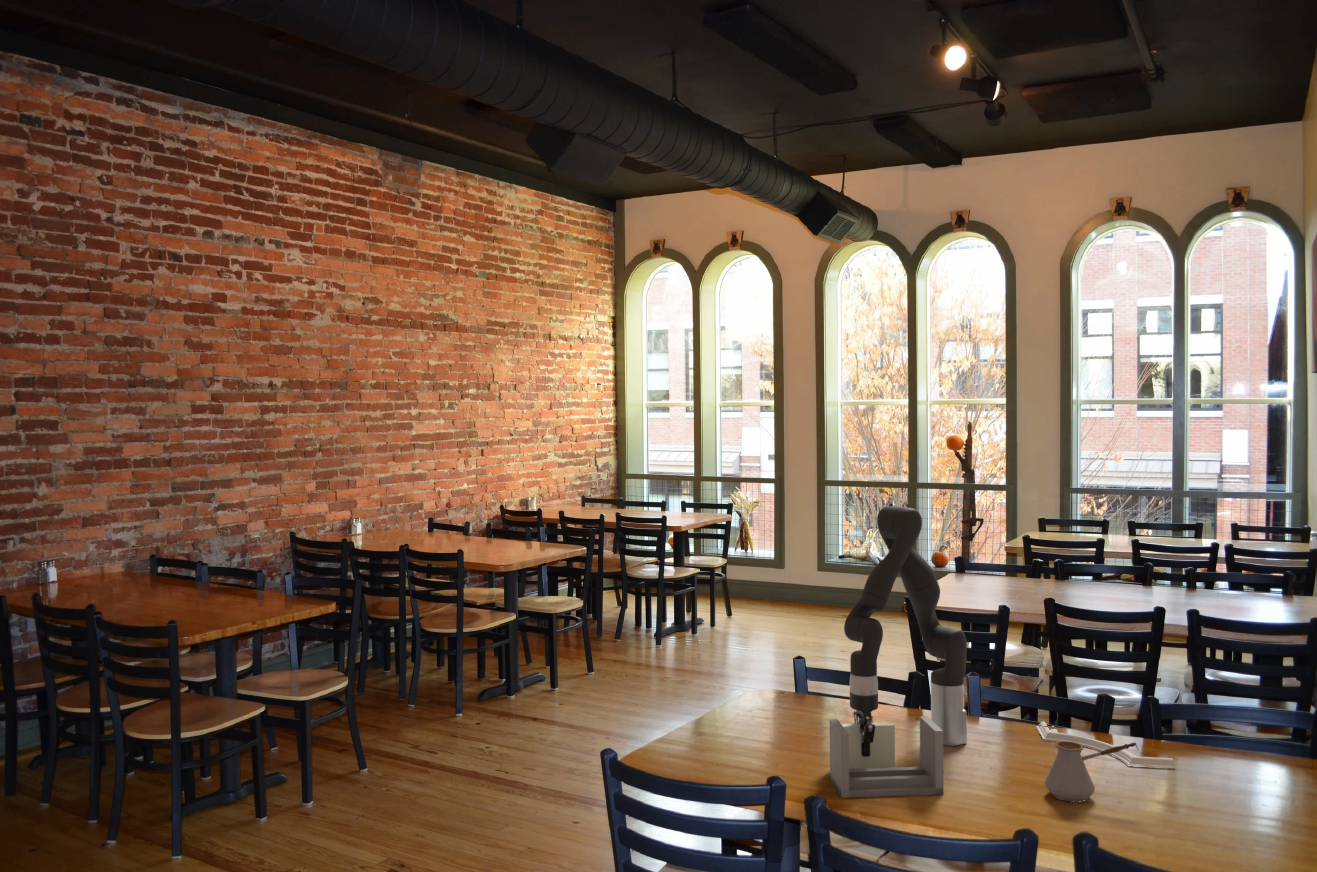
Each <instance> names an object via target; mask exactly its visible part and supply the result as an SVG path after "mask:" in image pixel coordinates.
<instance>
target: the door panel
mask: <svg viewBox="0 0 1317 872" xmlns="http://www.w3.org/2000/svg"><path fill="white" fill-rule="evenodd" d="M872 724H874V725H875V732H874V738H873V742H871V743H870V756H869V757H863V756H862V750H861V734H860V733H859V724H855V723H841V725H842V726H843V727H844V729H845V730H846V731H847V732H848V734H849V769H861V768H892V767H896V749H895V747H896V740H895V739H896V736H895V735H896V732H895V731H896V726H895V724H894V722H873V723H872ZM862 731H864V730H862ZM866 738H868V737H866Z"/></svg>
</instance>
